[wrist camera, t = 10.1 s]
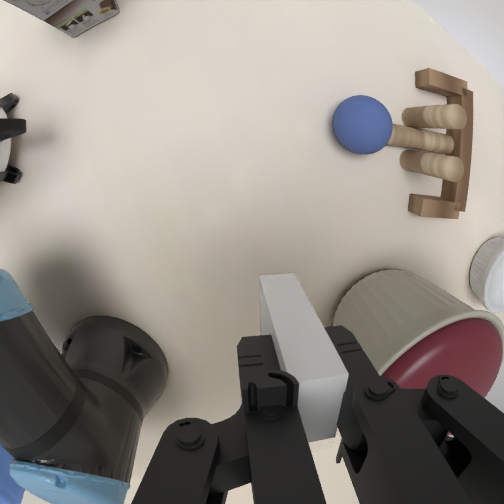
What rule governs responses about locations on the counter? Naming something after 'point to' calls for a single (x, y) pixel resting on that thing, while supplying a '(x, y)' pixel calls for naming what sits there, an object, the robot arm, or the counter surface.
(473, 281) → the ramekin
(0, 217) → the counter surface
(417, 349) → the canister
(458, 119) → the pin
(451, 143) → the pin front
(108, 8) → the coffee box
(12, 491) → the water jug
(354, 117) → the ball
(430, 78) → the rail
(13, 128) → the coffee press
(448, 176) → the pin
